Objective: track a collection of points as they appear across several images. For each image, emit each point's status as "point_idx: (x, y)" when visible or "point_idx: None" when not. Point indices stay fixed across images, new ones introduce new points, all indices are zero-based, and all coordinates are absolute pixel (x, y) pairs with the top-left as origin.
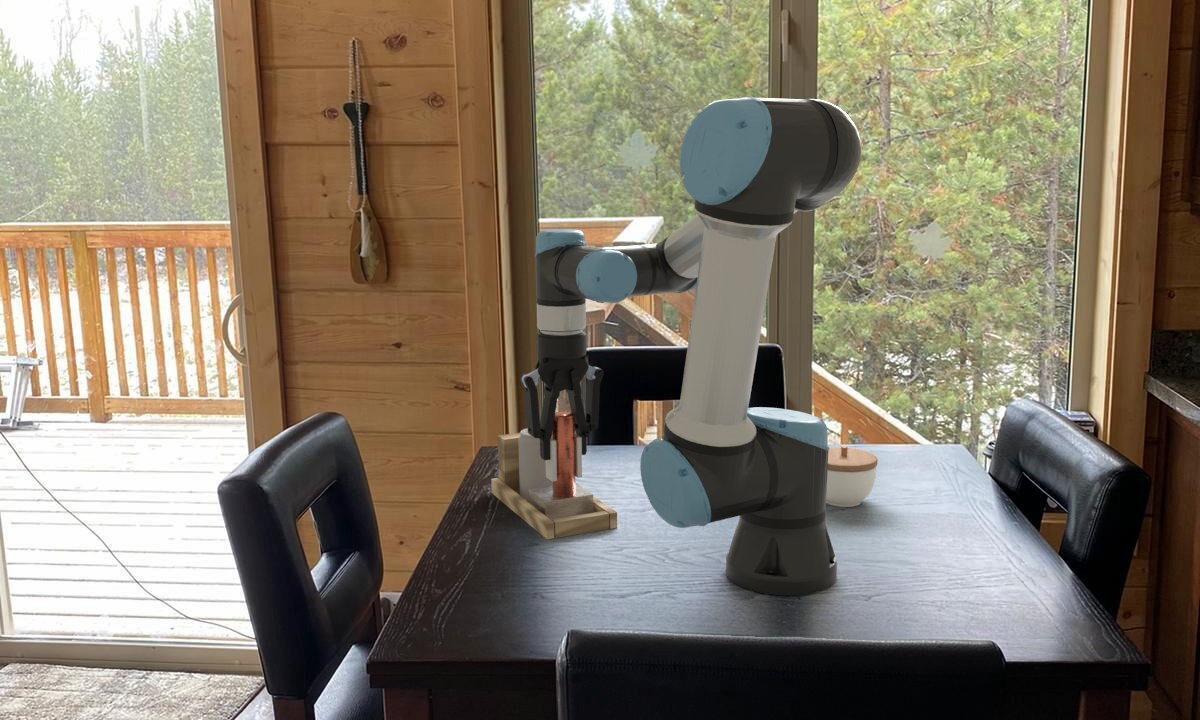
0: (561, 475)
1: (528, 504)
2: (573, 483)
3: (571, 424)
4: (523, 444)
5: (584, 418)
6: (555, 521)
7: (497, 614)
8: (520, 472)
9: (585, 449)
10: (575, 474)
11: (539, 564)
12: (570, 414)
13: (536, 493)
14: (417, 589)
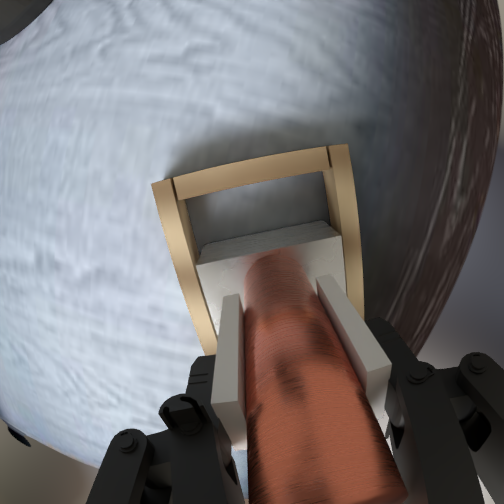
0: (302, 286)
1: (352, 291)
2: (254, 280)
3: (286, 461)
4: None
5: (178, 497)
6: (324, 152)
7: None
8: None
9: (195, 370)
10: (243, 312)
11: (365, 32)
12: None
13: None
14: (500, 52)
